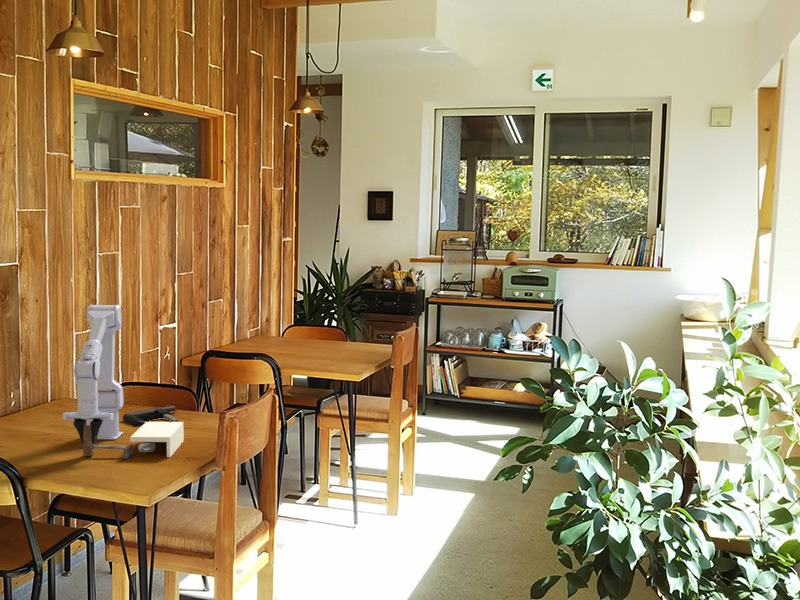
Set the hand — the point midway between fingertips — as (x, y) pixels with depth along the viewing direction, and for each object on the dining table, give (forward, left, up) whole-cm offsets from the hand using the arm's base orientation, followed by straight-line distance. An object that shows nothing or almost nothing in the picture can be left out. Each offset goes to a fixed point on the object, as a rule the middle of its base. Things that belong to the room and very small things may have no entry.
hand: (88, 442), depth 256 cm
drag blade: (+6, 0, -4) cm, 7 cm away
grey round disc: (+16, +6, -4) cm, 18 cm away
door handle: (+9, +43, -5) cm, 45 cm away
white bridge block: (+19, +8, -4) cm, 21 cm away
